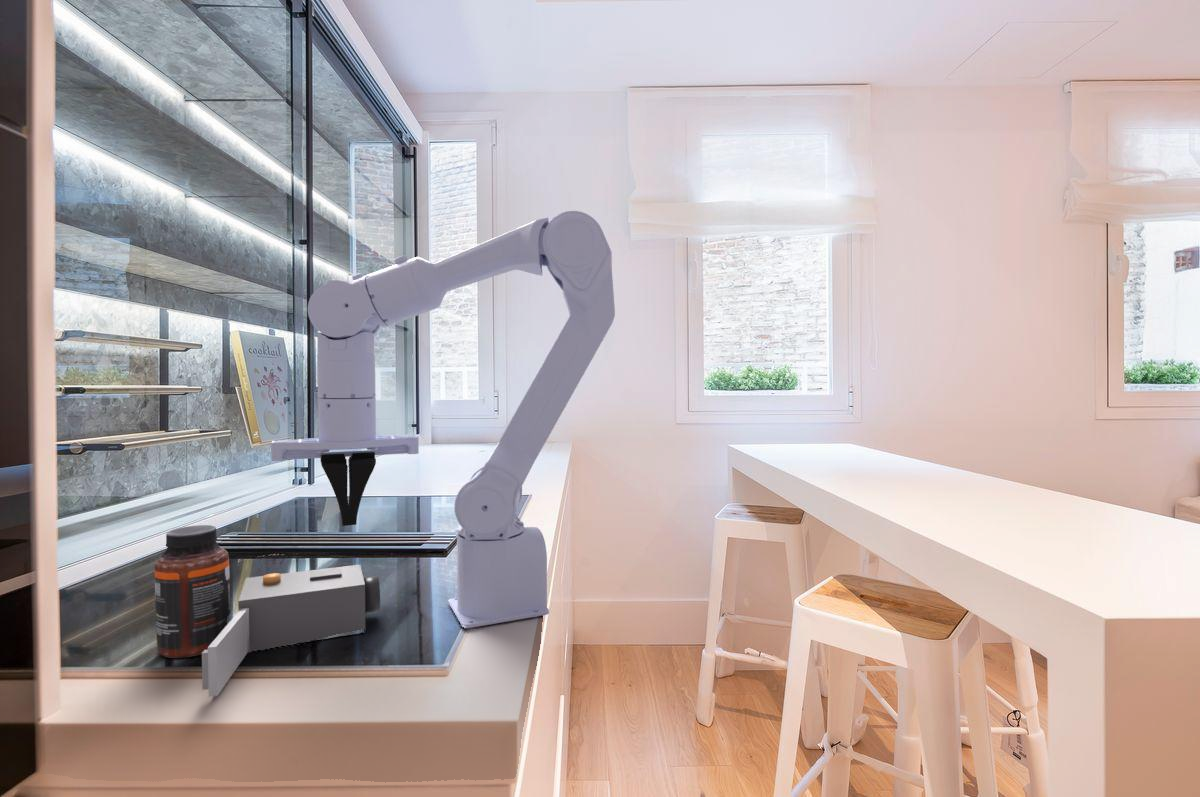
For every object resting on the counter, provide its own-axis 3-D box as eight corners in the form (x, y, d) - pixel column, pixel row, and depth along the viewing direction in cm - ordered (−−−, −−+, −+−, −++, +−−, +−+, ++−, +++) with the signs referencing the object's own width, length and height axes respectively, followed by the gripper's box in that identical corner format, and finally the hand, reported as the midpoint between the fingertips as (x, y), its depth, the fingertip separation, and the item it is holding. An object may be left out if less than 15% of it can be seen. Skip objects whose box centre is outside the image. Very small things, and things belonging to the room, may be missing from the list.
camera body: (376, 606, 69) (376, 557, 69) (383, 630, 63) (382, 576, 62) (246, 625, 64) (245, 572, 63) (239, 653, 57) (238, 594, 57)
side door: (218, 695, 49) (217, 646, 49) (201, 697, 49) (200, 648, 49) (250, 649, 57) (250, 607, 57) (236, 650, 57) (235, 608, 57)
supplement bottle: (245, 635, 61) (243, 522, 61) (201, 663, 56) (198, 539, 55) (189, 632, 62) (187, 521, 62) (140, 659, 56) (136, 536, 56)
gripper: (411, 395, 73) (412, 509, 73) (272, 397, 66) (274, 521, 67) (421, 398, 66) (422, 522, 67) (269, 400, 60) (271, 537, 61)
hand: (348, 523), depth 67 cm, fingers closed
